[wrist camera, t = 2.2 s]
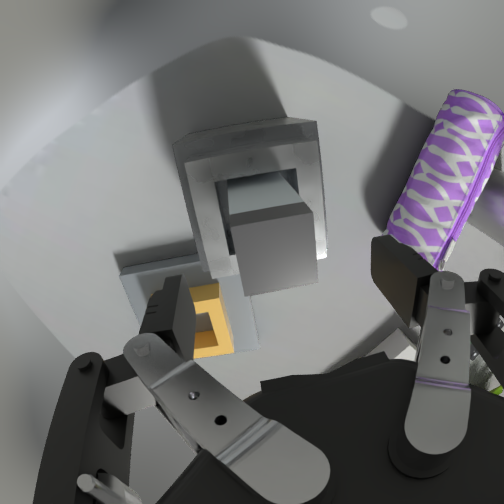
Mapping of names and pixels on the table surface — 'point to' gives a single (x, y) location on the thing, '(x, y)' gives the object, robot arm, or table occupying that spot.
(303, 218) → the plug
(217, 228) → the grey open sleeve
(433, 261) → the pencil case
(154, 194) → the table surface
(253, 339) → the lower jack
